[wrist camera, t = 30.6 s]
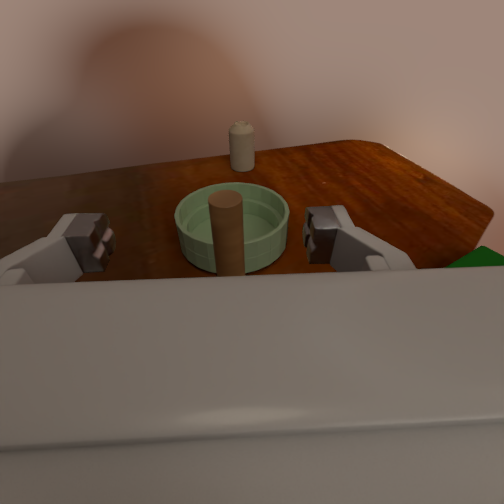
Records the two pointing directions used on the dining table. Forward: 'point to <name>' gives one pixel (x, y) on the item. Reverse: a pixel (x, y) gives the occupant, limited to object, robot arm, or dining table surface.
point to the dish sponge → (479, 259)
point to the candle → (241, 146)
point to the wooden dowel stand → (227, 232)
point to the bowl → (254, 222)
